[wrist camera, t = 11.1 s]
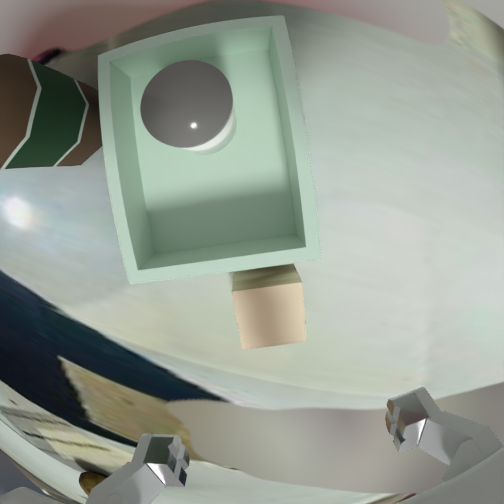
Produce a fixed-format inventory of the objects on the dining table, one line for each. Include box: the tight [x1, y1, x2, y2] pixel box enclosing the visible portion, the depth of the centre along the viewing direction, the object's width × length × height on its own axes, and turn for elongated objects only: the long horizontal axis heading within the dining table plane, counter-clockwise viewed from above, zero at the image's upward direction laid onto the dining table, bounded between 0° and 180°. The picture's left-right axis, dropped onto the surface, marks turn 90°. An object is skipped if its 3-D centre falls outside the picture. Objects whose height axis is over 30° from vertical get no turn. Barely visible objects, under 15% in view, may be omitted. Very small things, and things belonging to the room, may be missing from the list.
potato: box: [79, 472, 107, 496], centre depth 33 cm, size 8×13×8 cm, turn 27°
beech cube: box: [232, 263, 306, 350], centre depth 24 cm, size 5×5×5 cm
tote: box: [98, 15, 321, 285], centre depth 20 cm, size 14×18×5 cm
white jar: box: [140, 60, 237, 155], centre depth 18 cm, size 5×5×8 cm
